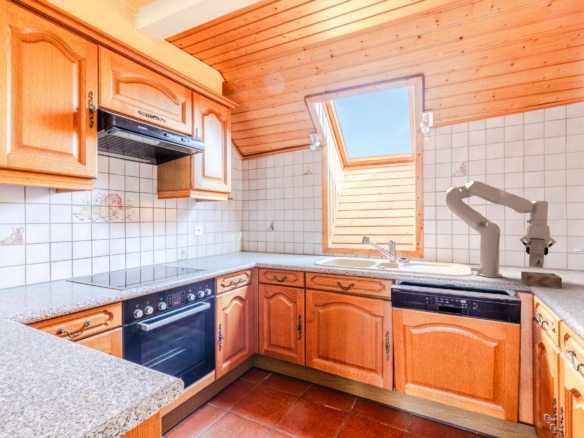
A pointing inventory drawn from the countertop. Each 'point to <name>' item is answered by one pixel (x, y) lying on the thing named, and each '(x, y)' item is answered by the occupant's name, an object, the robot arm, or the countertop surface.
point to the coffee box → (536, 252)
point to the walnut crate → (541, 279)
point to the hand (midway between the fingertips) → (536, 254)
